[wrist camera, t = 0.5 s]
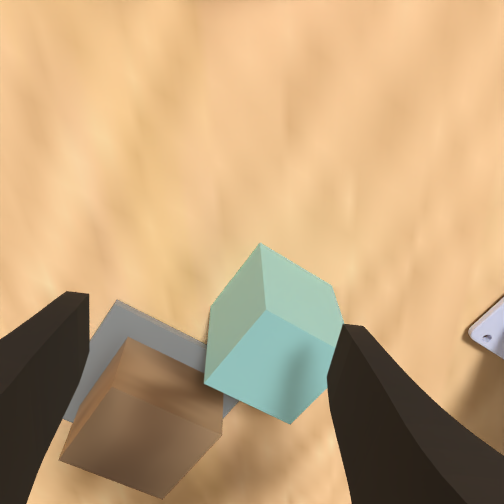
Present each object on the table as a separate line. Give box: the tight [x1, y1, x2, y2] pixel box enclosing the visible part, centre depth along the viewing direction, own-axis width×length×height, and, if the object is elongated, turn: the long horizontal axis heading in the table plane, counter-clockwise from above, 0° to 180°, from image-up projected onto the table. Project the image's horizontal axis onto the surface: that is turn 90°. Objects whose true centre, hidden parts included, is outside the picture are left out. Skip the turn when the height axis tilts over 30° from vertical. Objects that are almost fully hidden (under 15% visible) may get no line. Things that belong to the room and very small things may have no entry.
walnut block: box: [59, 337, 224, 499], centre depth 25 cm, size 6×6×4 cm
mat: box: [63, 300, 240, 423], centre depth 27 cm, size 9×9×1 cm
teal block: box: [204, 243, 344, 424], centre depth 22 cm, size 4×4×6 cm
